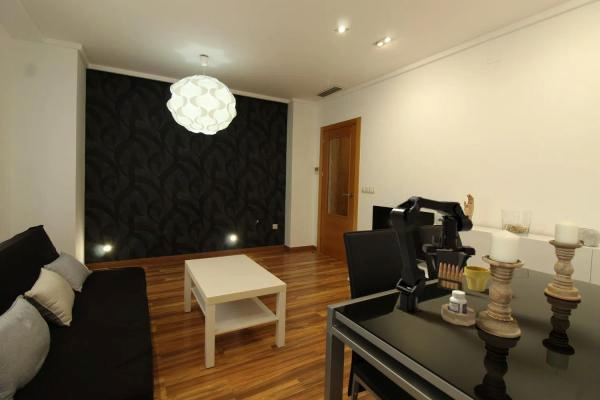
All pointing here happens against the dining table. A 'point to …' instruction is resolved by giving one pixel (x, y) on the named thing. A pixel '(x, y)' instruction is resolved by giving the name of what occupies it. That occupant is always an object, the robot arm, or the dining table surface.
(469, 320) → the beige ring washer
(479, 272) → the plant pot
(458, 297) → the pill bottle
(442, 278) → the ammunition clip
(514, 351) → the dining table surface
